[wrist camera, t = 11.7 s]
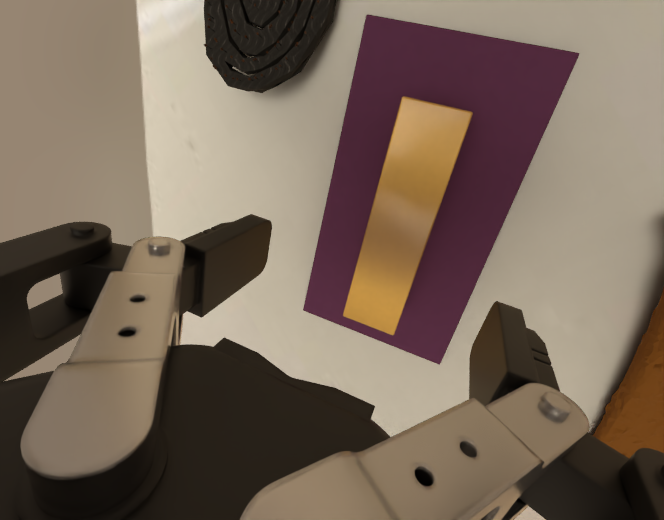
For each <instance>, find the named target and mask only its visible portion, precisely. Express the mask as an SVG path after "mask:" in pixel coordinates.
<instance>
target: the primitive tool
mask: <svg viewBox="0 0 664 520" xmlns="http://www.w3.org/2000/svg"><path fill="white" fill-rule="evenodd" d="M605 410H606V413H605V414H604V415H603V419H602V421H601V422H600V424H599V426H598V427H597V428H596V431H595V433H594V434H593V436H594V437H596V438H597V439H599V440H600V441H602V442H603V443H605V444H607V445H608V446H610V447H611V448H613V449H615V450H616V451H618V452H620V453H621V454H623V455H624V456H626V457H628V458H630V457H631V456H632V455H633V454H634V453H635V452H636V451H637V450H638V449H640V448H650V449H654V450H657V451H660V452H662V453H664V288H663V292H662V296H661V298H660V301H659V304H658V306H657V307H656V308H655V309H654V311H653V313H652V317H651V320H650V324H649V327H648V329H647V332H646V333H644V335H643V336H642V342H641V343H640V345H639V346H638V348H637V352H636V354H635V356H634V358H633V360H632V362H631V364H630V367H629V369H628V371H627V373H626V375H625V377H624V379H623V381H622V382H621V384H620V386H619V389H618V390H617V391H616V392H615V393H614V394H613V395H612V399H611V402H610V403H609V404H607V406H606V408H605Z"/></svg>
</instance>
